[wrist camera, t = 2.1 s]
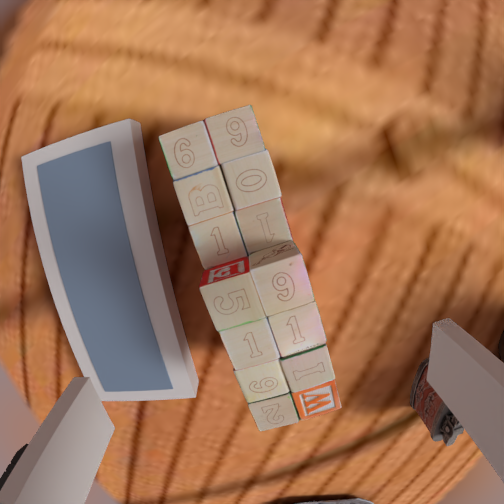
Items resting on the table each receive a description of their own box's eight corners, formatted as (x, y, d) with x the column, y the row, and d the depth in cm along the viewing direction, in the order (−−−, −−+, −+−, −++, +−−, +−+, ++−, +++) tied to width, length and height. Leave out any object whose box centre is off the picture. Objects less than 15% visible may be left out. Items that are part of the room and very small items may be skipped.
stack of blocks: (183, 144, 28) (142, 128, 16) (250, 122, 27) (256, 89, 15) (253, 350, 33) (259, 435, 21) (311, 333, 32) (343, 411, 21)
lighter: (426, 402, 36) (458, 449, 26) (405, 408, 36) (436, 458, 26) (440, 354, 34) (482, 399, 24) (418, 359, 34) (458, 408, 24)
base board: (37, 156, 27) (20, 156, 24) (140, 122, 27) (128, 118, 24) (104, 386, 34) (95, 401, 30) (198, 380, 33) (195, 398, 30)
